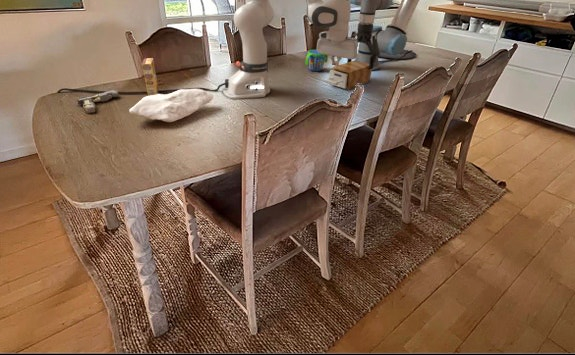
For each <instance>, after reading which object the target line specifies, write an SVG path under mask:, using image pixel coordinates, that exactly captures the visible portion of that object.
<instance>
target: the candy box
mask: <svg viewBox="0 0 575 355" xmlns="http://www.w3.org/2000/svg"><path fill="white" fill-rule="evenodd" d="M141 66H142V73H143V78H144V82H145V87H146V91H147V93H146V94H147V96H150V95H156V94H159V93H158V91H160V89H159V84H158V79H157V73H156V66H155V62H154V58H153V57H151V58H150V57H149V58H146V57H145V58H143V60H142V63H141Z"/></svg>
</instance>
